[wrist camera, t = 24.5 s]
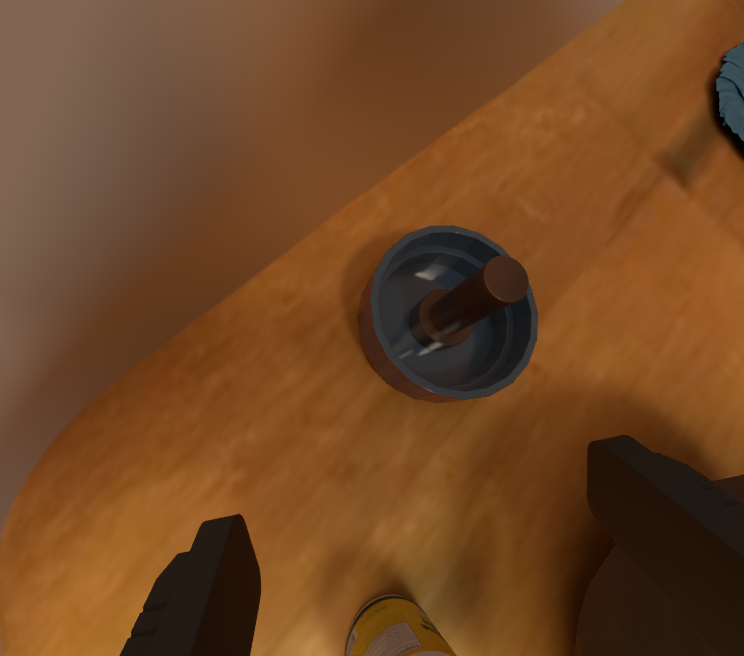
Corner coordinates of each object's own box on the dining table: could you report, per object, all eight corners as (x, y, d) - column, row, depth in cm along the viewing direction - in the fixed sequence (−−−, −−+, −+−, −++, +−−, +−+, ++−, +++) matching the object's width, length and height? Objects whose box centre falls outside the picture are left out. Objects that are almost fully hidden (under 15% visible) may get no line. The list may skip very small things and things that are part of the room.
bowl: (327, 353, 31) (337, 339, 26) (398, 228, 35) (418, 195, 30) (467, 431, 32) (503, 432, 27) (518, 301, 36) (558, 281, 31)
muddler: (400, 333, 32) (457, 290, 21) (422, 288, 33) (487, 227, 23) (448, 361, 32) (527, 331, 22) (468, 315, 34) (551, 267, 23)
